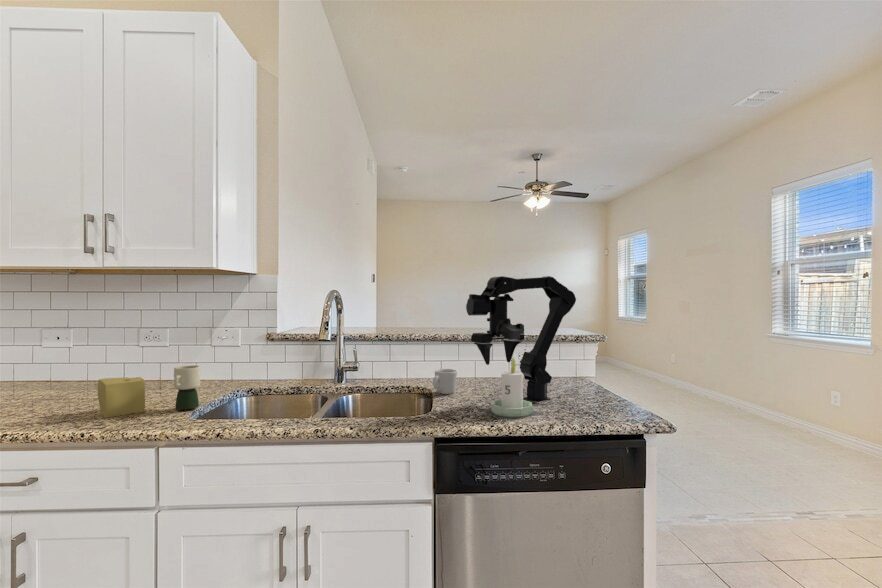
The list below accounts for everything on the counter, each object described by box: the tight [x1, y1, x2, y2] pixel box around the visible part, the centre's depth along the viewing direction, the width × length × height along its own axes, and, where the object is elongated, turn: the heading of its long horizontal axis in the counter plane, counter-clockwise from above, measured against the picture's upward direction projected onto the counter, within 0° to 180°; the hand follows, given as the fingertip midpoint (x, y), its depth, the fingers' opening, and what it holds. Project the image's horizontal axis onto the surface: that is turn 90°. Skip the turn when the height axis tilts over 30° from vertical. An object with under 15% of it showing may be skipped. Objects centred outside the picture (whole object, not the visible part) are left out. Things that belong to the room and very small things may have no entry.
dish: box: [490, 398, 534, 418], centre depth 132 cm, size 12×12×2 cm
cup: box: [432, 368, 458, 395], centre depth 158 cm, size 11×8×8 cm
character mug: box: [173, 364, 201, 411], centre depth 136 cm, size 11×7×13 cm, turn 176°
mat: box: [480, 408, 544, 422], centre depth 132 cm, size 13×13×1 cm
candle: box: [501, 357, 524, 408], centre depth 132 cm, size 6×6×15 cm
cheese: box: [97, 376, 146, 419], centre depth 133 cm, size 10×11×10 cm
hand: (498, 363), depth 143 cm, fingers open, 9 cm apart
